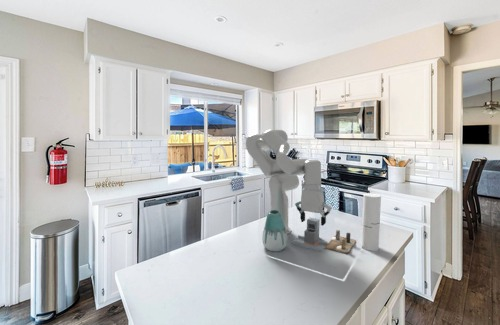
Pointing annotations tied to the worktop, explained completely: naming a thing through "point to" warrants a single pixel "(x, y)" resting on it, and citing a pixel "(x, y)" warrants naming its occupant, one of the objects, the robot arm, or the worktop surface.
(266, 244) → the vase
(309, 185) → the robot arm
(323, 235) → the worktop surface
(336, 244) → the pin board
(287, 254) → the worktop surface
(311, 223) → the gray rectangular block
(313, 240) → the sleeve
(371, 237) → the cylindrical container
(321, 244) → the chute
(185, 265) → the worktop surface
